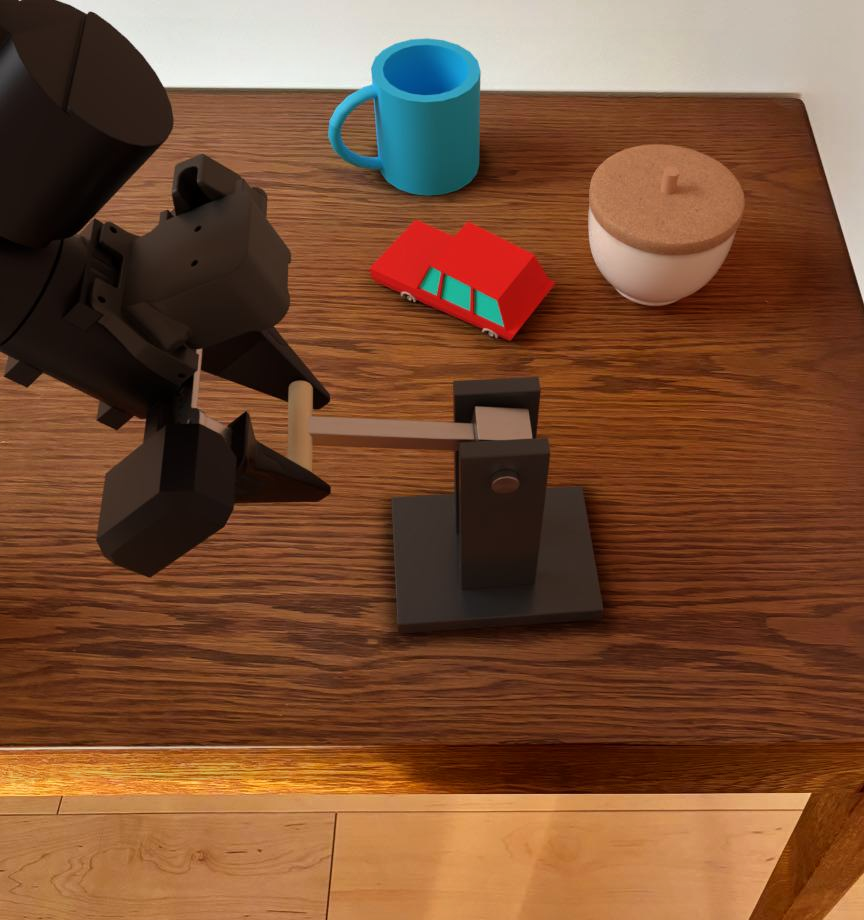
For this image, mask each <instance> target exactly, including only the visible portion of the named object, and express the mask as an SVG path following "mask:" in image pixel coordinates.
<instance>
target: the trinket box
mask: <svg viewBox="0 0 864 920" xmlns="http://www.w3.org/2000/svg"><path fill="white" fill-rule="evenodd" d="M745 204H746V199H745V193H744V191H743V188H742V185H741V184H740V182H739V180H738V179H737V178H736V176H735V175H734V174H733V173H732V171H731V170H730V169H729V168H728V167H726V166H725V165H724V164H722V163H721V161H718V160H716V159H715V158H714V157H712V156H710V155H708V154H705V153H703V152H700V151H698V150H695V149H693V148H689V147H685V146H679V145H672V144H662V143H661V144H660V143H658V144H657V143H655V144H654V143H653V144H643V145H642V144H641V145H637V146H633V147H628V148H625V149H623V150H620V151H617V152H615V153H614V154H612V155H611V156H609V157H608V158H607V159H605V160H604V161H603V162H602V163H601V164H600V165H598V166H597V168H596V170H595V171H594V173H593V175H592V176H591V180H590V185H589V191H588V216H587V227H588V229H587V230H588V231H587V232H588V242H589V249H590V251H591V255H592V259H593V260H594V263H595V265H596V267H597V270H598V271H599V272H600V273H601V275H602V276H603V277H604V279H605V280H606V281H607V282H608V283H609V284H610V285H611V286H612V287H613V288H614V289H615V290H616V291H617V293H619V294H620V295H621V296H622V297H623V298H626V299H627V300H628V301H631V302H634V303H636V304H639V305H644V306H648V307H649V306H651V307H658V306H659V307H661V306H666V305H671V304H674V303H675V302H679V301H680V300H681V299H684V298H686V297H689V296H691V295H693V294H695V293H696V292H698V291H699V290H700V289H702V288H704V286H706V285H707V284H708V283H709V282H710V281H711V280H712V279H713V278H714V277H715V275H716V274H717V273H718V272H719V270H720V269H721V268H722V265H723V264H724V262H725V261H726V259H727V257H728V255H729V252H730V251H731V248H732V245H733V242H734V240H735V236H736V234H737V231H738V228H739V226H740V225H741V222H742V218H743V216H744V211H745V206H746V205H745Z"/></svg>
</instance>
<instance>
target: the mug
mask: <svg viewBox="0 0 864 920" xmlns="http://www.w3.org/2000/svg"><path fill="white" fill-rule="evenodd" d="M370 73H371V83H372V84H369V85H365V86H363V87H361V88H359V89H357V90H356V91H354V92H352V93H350V94H349V95H348V96H347V97H345V99H343V100H342V101H341V102H340V103H339V104H338V105H337V106H336V108H335V110H334V111H333V114H332V115H331V117H330V119H329V122H328V132H327V136H328V140H329V142H330V145H331V148H332V150H333V152H334V153H336V154H337V155H338V157H340V159H342V161H344V162H345V163H348V164H350V165H352V166H354V167H356V168H359V169H365V170H366V169H367V170H371V171H373V170H374V171H377V170H379V171H380V174H381V175H382V177H383V178H384V179H385V180H386V182H387V183H389V184H390V185H391V186H392V187H395V188H396V189H398V190H400V191H403V192H406V193H408V194H412V195H418V196H426V197H429V196H440V195H441V196H442V195H447V194H450V193H453V192H456V191H460V189H463V188H464V187H465V186H467V185H469V184H470V183H471V182H472V180H474V178H475V177H476V176H477V174H478V171H479V167H480V146H481V145H480V143H481V142H480V141H481V139H480V138H481V137H480V136H481V135H480V134H481V67H480V64H479V60H478V59H477V58H476V57H475V55H474V54H473V53H472V52H471V51H470V50H468V49H466V48H465V47H463V46H461V45H460V44H457V43H454V42H450V41H447V40H444V39H437V38H436V39H435V38H428V37H427V38H413V39H407V40H404V41H400V42H396V43H394V44H391V45H390V46H388V47H386V48H384V49H382V50H381V51H380V53H378V55H376V56H375V58H374V59H373V62H372V65H371V67H370ZM370 100H373V108H374V120H375V132H376V144H377V156H367V155H360V154H359V153H356V152H354V151H352V150H350V149H349V148H348V147H347V145H345V144H344V141H343V138H342V127H343V125H344V123H345V121H346V119H347V118H348V116H349V115H350V114H351V113H352V112H353V111H354V110H355V109H356V108H357V107H359V106H361V105H362V104H364V103H366V102H368V101H370Z"/></svg>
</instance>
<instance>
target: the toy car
mask: <svg viewBox="0 0 864 920" xmlns="http://www.w3.org/2000/svg"><path fill="white" fill-rule="evenodd" d="M369 272H370V276H371V278H372V280H373V281H374V282H375V283H376V284H379V285H381V286H384V287H386V288H388V289H390V290H393V291H395V292H396V293H397V292H398V293H399V294H400V297H403V296H404V295H405V298H406V300H407V301H408V302H410V303H411V302H413V303H416V302H417V301H418V302H420V303H423V304H425V305H427V306H429V307H431V308H433V309H436V310H438V311H441V312H443V313H445V314H448V315H450V316H452V317H454V318H456V319H459V320H461V321H464V322H466V323H468V324H469V325H472V326H475V327H477V328H479V329H481V333H484V332H486V333H487V335H488V337H490V338H495V339H498V338H502V339H503V340H506V341H509V342H511V341H512V340H513V338H514V337H515V336H516V335H517V334H518V332H519V331H520V329H521V328H522V327H523V326H524V324H525V323H526V322H527V321H528V320H529V318H530V317H531V315H532V314H533V313H534V312H535V310H536V309H537V308H538V307H539V305H540V304H541V303H542V302H543V301H544V299H545V298H546V296H547V295H548V294H549V293H550V292H551V290H552V289H553V287H554V286H555V284H556V281H554V280H552V279H550V278H549V277H548V275H547V273H546V272H545V270H544V268H543V267H542V265H541V264H540V261H539V260H538V258H537V256H536V255H535V254H534V253H532V252H530V251H527V250H525V248H522V247H519V246H518V245H516V244H514V243H512V242H510V241H508V240H507V239H504V238H502V237H500V236H498V235H496V234H494V233H492V232H490V231H488V230H486V229H484V228H483V227H480V226H478V225H476V224H474V223H472V222H470V221H467V222H466V223H465V224H464V225H463V226H461V228H460V229H459V230H458V232H457V233H456V234H455V235H454V236H453V235H452V234H450V233H447V232H445V231H443V230H440V229H438V228H436V227H434V226H432V225H429V224H427V223H424V222H423V221H420V220H418V219H415V220H414V221H412V223H410V225H409V226H408V227H407V228H406V229H405V230H404V231H403V232H402V233H401V234H400V235H399V236H398V237H397V239H396V240H394V242H392V244H391V245H390V246H389V247H388V248H387V249H386V250H385V251H384V252H383V253H382V254H381V255H380V256H379V257H378V258H377V260H375V262H373V264H372V265H371V266H370V267H369Z"/></svg>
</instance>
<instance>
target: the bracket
mask: <svg viewBox="0 0 864 920" xmlns="http://www.w3.org/2000/svg"><path fill="white" fill-rule="evenodd" d="M541 392H542V388H541V384H540V378H539V376H521V377H520V376H519V377H505V378H504V377H502V378H483V379H465V380H464V379H462V380H453V381H452V396H453V397H452V407H453V409H452V410H453V411H452V413H453V417H452V418H453V422H455V423H471V420H472V416H473V412H474V408H475V406H482V407H503V408H524V409H528V410H529V417H530V424H531V431H532V438H531V439H513V440H496V441H478V442H460V443H459V451H453V487H454V488H453V489H454V493H442V494H428V495H427V494H426V495H411V496H395V497H391V498H390V502H391V522H392V543H393V544H392V545H393V560H394V561H393V562H394V563H393V564H394V565H393V566H394V584H395V585H394V587H395V605H396V606H395V607H396V624H397V632H398V634H399V635H401V634H417V633H428V632H429V633H431V632H442V631H444V632H445V631H456V630H470V629H471V630H472V629H482V628H483V629H484V628H498V627H499V628H500V627H512V626H514V627H515V626H525V625H526V626H527V625H540V624H553V623H567V622H581V621H582V622H583V621H597V620H602V618H603V614H604V604H603V598H602V591H601V586H600V580H599V575H598V569H597V563H596V558H595V552H594V546H593V539H592V535H591V530H590V523H589V518H588V517H589V516H588V512H587V506H586V501H585V494H584V488H583V485H575V486H574V485H573V486H559V487H547V486H548V477H549V470H550V469H549V468H550V460H551V447H550V441H549V437H537V434H538V433H537V432H538V424H539V413H540V402H541V394H542V393H541Z"/></svg>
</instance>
